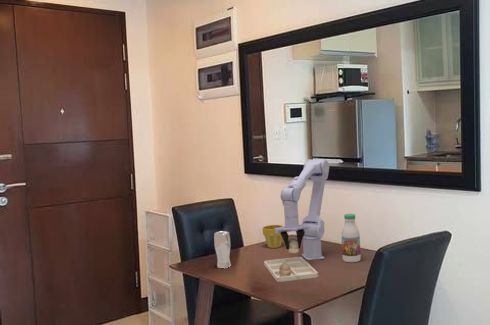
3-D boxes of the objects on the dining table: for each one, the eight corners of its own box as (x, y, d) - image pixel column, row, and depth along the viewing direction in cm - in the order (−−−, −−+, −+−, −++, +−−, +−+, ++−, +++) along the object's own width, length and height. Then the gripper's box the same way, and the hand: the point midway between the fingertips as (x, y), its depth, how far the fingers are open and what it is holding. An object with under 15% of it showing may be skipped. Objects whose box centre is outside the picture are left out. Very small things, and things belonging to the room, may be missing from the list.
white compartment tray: (264, 265, 223) (263, 260, 223) (301, 261, 226) (301, 256, 226) (277, 283, 199) (277, 278, 199) (318, 278, 202) (318, 273, 201)
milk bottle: (340, 258, 226) (338, 213, 225) (357, 257, 227) (355, 212, 225) (345, 263, 219) (343, 217, 217) (363, 261, 219) (361, 215, 218)
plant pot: (261, 245, 258) (259, 225, 257) (280, 242, 260) (279, 223, 259) (266, 250, 248) (265, 230, 247) (287, 247, 250) (286, 227, 249)
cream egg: (287, 251, 218) (286, 238, 218) (297, 249, 219) (296, 236, 218) (289, 253, 214) (289, 240, 213) (300, 252, 215) (299, 239, 214)
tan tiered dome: (278, 276, 206) (277, 262, 205) (289, 275, 206) (288, 261, 206) (281, 279, 201) (280, 265, 201) (292, 278, 202) (291, 264, 201)
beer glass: (234, 264, 228) (231, 231, 227) (228, 269, 221) (226, 234, 220) (219, 263, 230) (217, 230, 229) (213, 268, 224) (211, 234, 222)
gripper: (276, 219, 210) (278, 252, 211) (311, 216, 213) (312, 248, 214) (272, 216, 217) (274, 248, 218) (305, 213, 219) (307, 244, 221)
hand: (293, 248), depth 216 cm, fingers closed on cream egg, 4 cm apart
